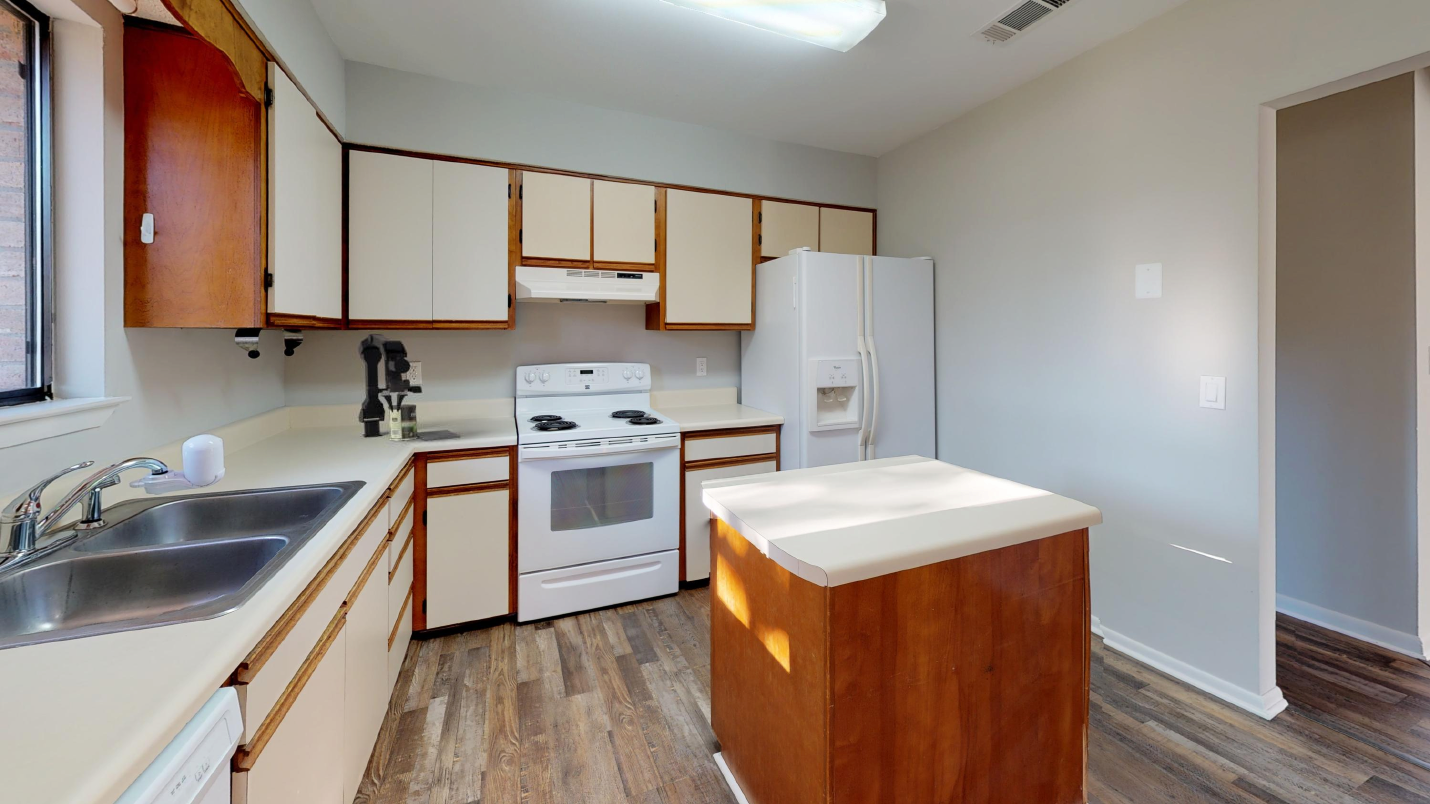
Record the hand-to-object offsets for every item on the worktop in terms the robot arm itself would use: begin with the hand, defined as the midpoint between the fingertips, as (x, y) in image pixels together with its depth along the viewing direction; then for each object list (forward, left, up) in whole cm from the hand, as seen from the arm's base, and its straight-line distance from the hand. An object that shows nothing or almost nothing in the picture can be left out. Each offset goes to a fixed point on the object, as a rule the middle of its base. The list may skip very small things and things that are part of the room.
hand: (395, 412), depth 221 cm
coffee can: (-13, +5, -13) cm, 19 cm away
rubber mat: (-13, +17, -13) cm, 25 cm away
